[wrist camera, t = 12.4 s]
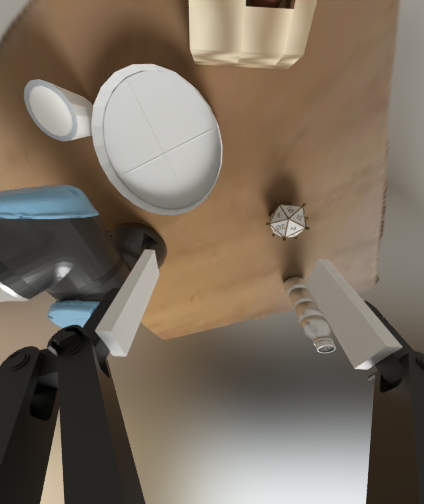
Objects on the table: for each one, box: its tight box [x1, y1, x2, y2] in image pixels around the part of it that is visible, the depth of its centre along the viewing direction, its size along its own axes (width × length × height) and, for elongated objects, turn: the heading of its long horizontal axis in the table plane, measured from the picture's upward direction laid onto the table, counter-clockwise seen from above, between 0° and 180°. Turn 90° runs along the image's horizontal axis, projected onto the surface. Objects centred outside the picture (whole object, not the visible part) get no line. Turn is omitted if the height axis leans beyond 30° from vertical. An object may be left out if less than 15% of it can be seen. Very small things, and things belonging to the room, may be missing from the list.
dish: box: [91, 64, 222, 215], centre depth 31 cm, size 22×22×5 cm
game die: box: [265, 201, 310, 241], centre depth 36 cm, size 9×8×10 cm
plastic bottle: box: [284, 277, 336, 353], centre depth 44 cm, size 6×7×20 cm
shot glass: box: [24, 79, 93, 142], centre depth 26 cm, size 7×7×7 cm
